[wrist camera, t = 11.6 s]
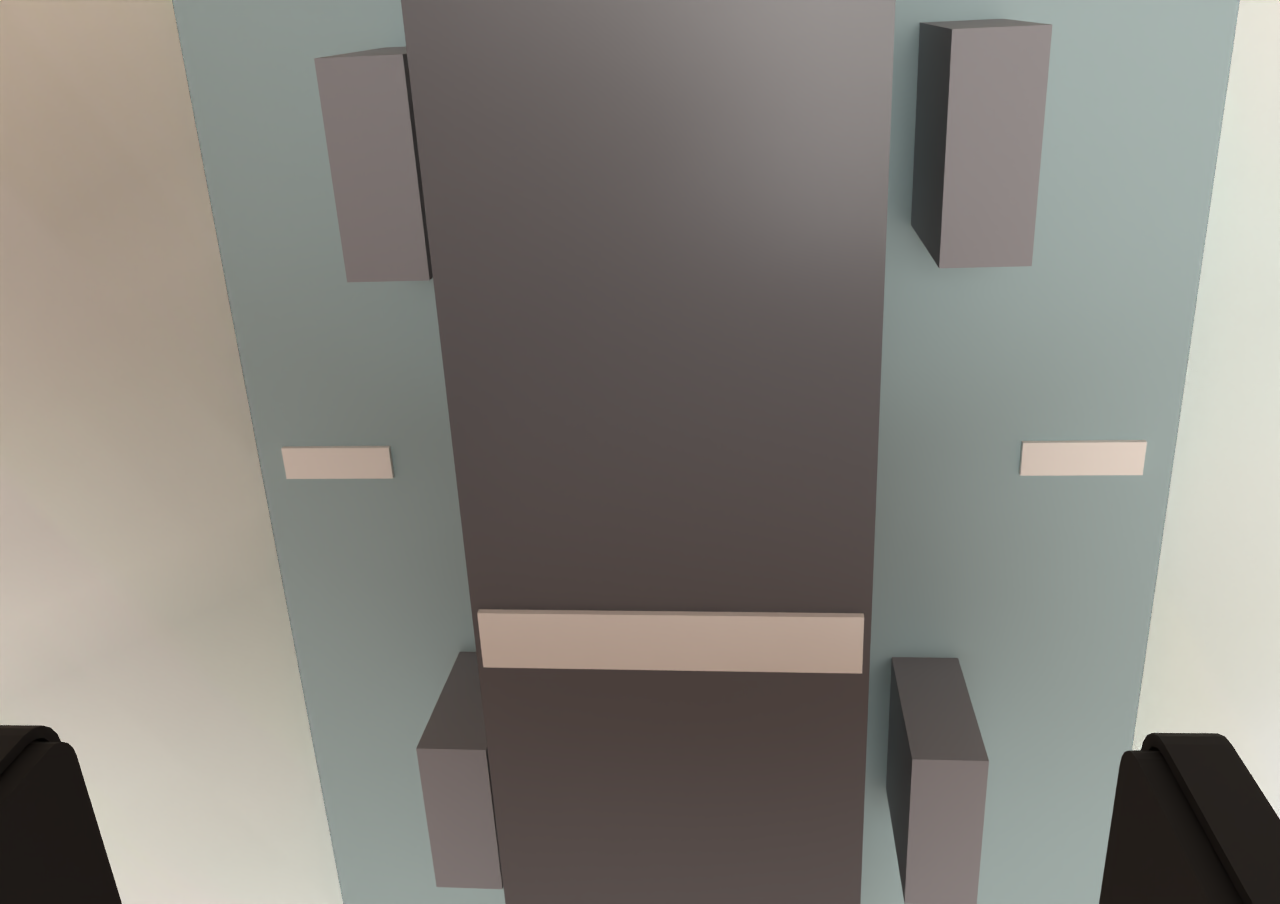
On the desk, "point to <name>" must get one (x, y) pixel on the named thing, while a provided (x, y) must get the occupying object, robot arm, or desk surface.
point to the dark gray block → (664, 427)
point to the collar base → (907, 447)
